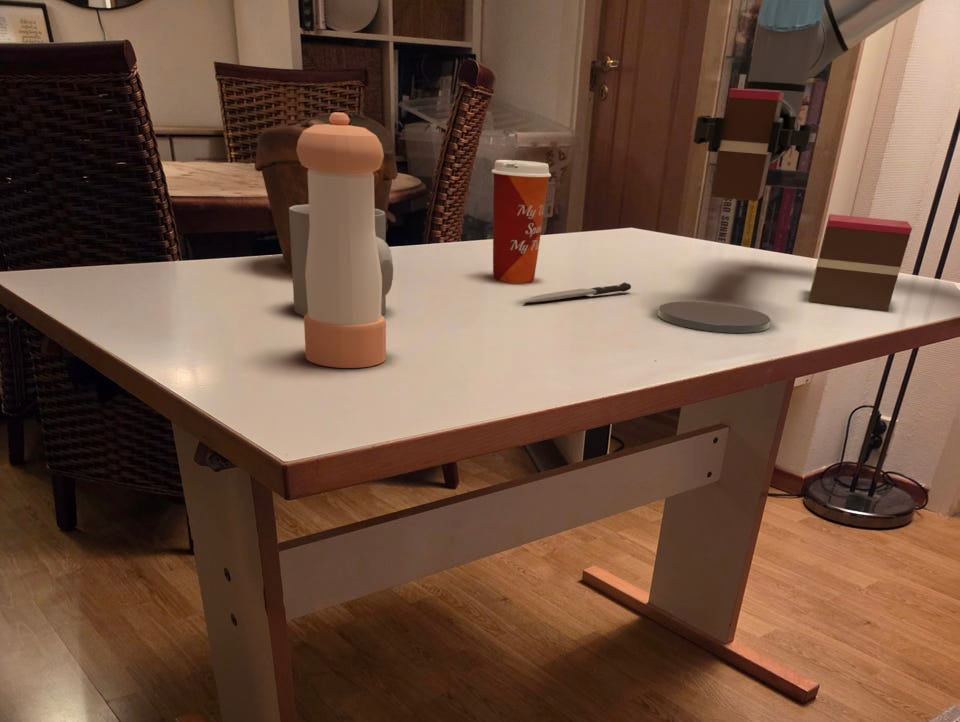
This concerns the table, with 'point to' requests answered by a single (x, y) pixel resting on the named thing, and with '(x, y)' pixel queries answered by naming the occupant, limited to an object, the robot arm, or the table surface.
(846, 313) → the table surface
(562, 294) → the chef's knife
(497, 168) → the paper cup
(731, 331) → the cake plate
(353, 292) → the salt shaker
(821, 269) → the cake
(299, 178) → the flower pot
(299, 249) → the coffee mug
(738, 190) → the cake slice
